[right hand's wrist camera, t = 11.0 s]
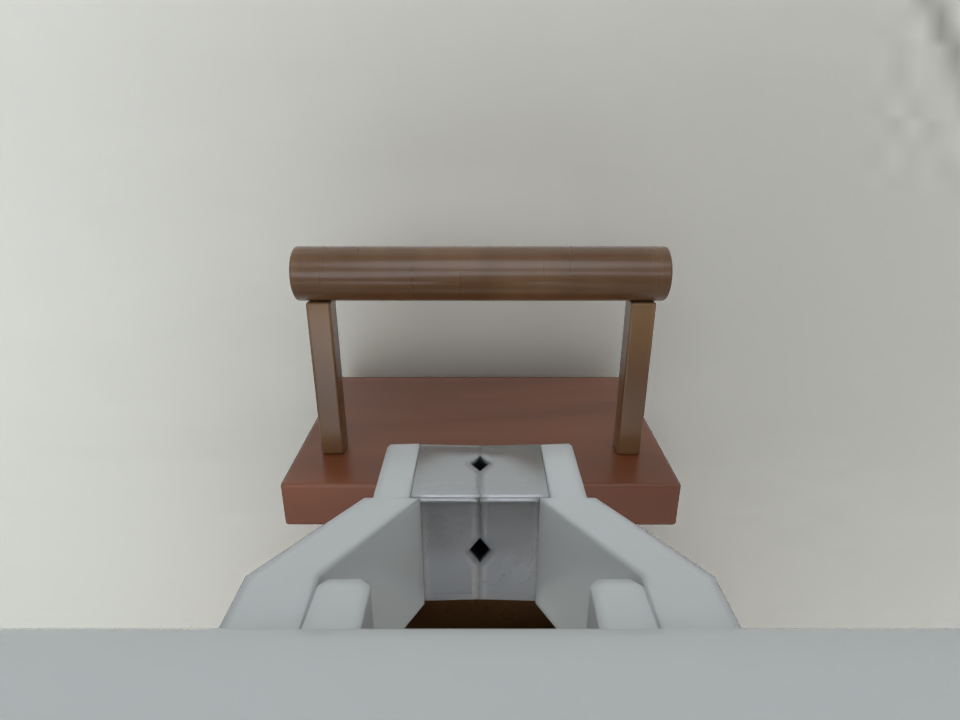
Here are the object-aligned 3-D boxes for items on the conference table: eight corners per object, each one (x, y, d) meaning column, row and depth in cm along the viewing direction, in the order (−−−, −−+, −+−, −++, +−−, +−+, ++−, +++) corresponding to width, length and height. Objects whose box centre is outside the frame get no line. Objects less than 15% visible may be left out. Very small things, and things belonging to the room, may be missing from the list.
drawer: (324, 216, 19) (248, 262, 13) (637, 216, 19) (714, 262, 13) (369, 704, 27) (335, 881, 20) (591, 703, 27) (624, 881, 20)
